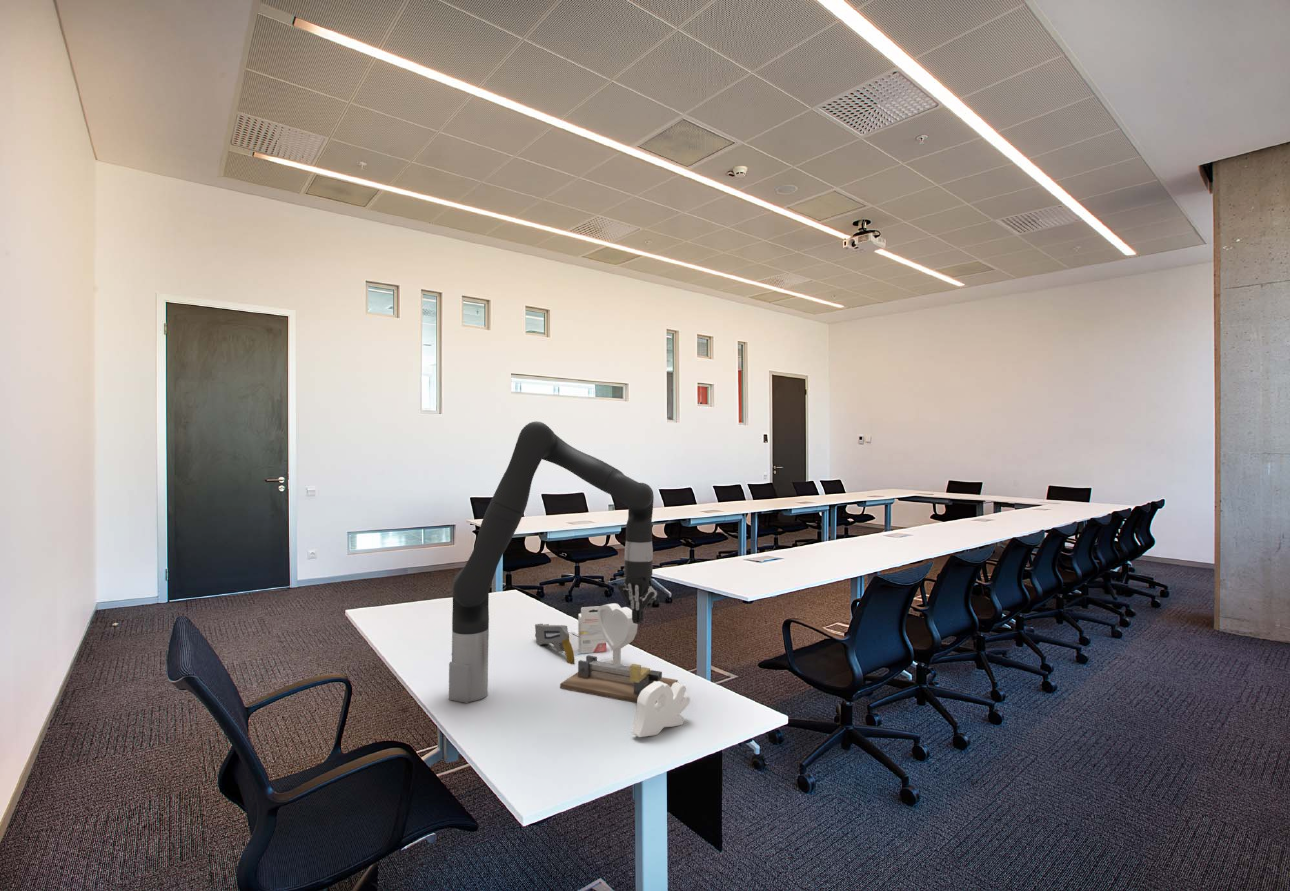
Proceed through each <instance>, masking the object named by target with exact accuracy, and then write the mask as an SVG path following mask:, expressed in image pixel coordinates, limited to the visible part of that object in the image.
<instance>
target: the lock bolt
mask: <svg viewBox="0 0 1290 891" xmlns="http://www.w3.org/2000/svg"><path fill="white" fill-rule="evenodd" d="M629 666H630V682H636V683H639V682H640V681H641V680H642V679H644V678H645V677H646V676H647V675H648V674H649V673H650V670H651V668H650V667H643V666H642V665H641V664H636V663H632V664H631V665H629Z"/></svg>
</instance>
